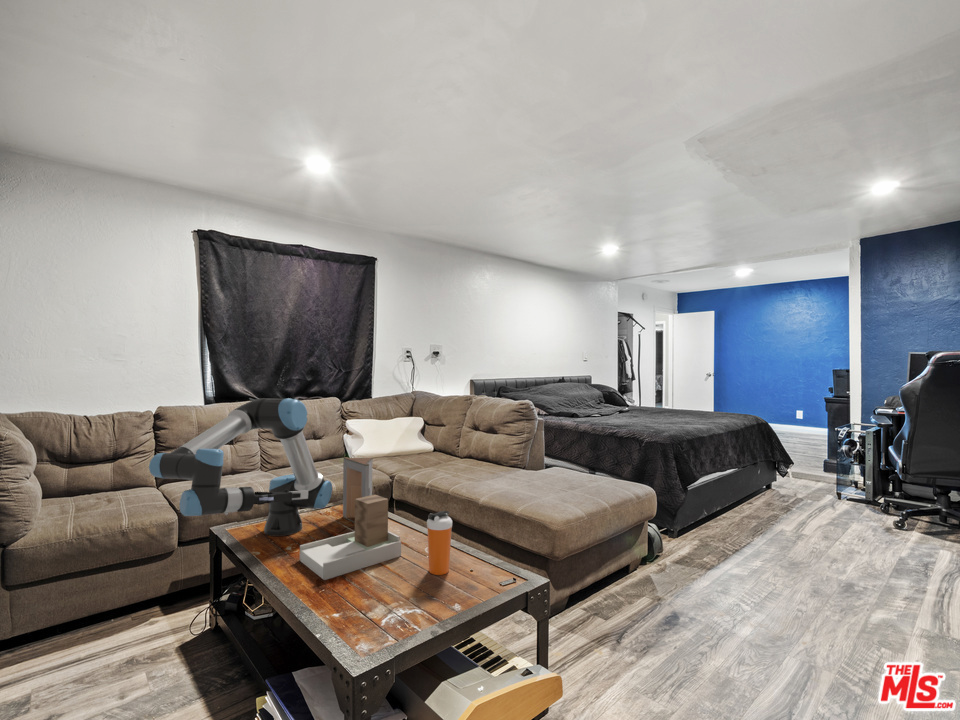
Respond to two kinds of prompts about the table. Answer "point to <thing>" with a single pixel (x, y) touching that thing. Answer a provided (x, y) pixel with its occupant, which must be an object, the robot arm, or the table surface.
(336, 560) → the box
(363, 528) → the walnut block
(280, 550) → the table surface
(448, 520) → the shaker bottle
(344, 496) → the cabinet
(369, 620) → the table surface
